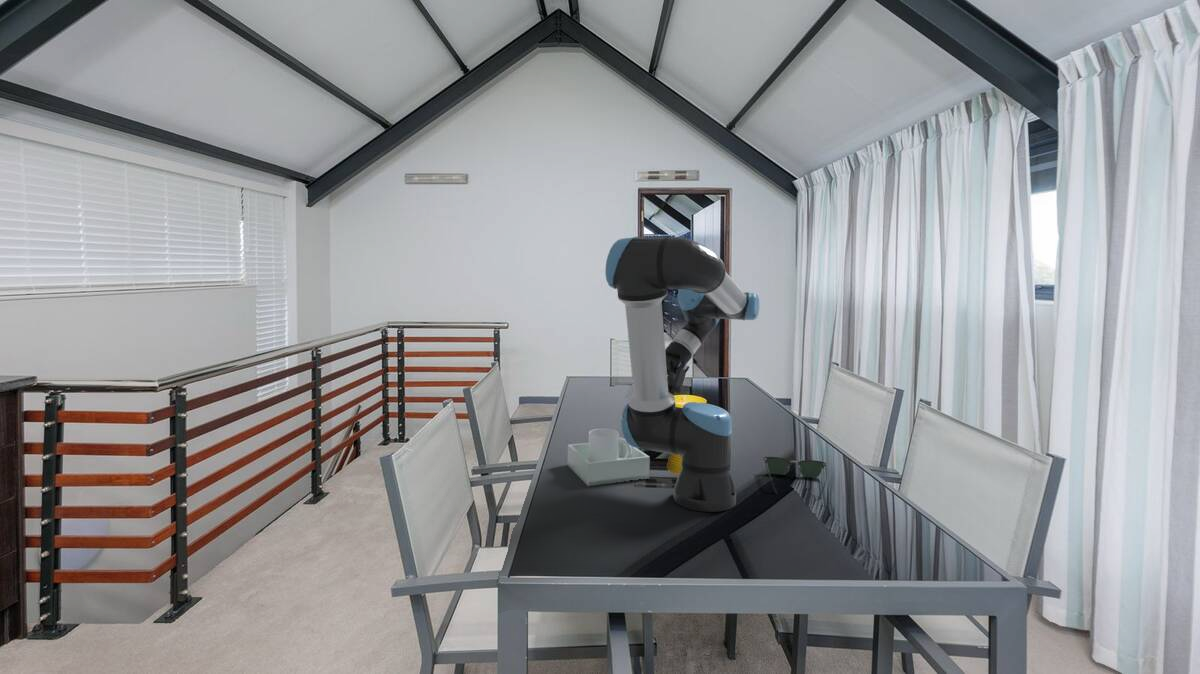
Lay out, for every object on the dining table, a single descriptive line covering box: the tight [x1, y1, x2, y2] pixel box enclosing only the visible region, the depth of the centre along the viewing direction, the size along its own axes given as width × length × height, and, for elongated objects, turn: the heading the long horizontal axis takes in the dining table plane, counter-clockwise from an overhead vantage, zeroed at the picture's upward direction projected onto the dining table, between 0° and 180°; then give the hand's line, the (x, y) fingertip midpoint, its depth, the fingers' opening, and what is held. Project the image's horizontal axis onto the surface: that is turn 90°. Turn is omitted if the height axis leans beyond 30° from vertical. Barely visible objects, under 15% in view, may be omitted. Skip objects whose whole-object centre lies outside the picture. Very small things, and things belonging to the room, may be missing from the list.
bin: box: [566, 442, 651, 487], centre depth 164 cm, size 18×18×6 cm
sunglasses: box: [763, 456, 828, 500], centre depth 155 cm, size 16×17×5 cm
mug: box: [588, 428, 632, 462], centre depth 163 cm, size 12×8×10 cm
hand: (639, 403), depth 167 cm, fingers open, 13 cm apart
